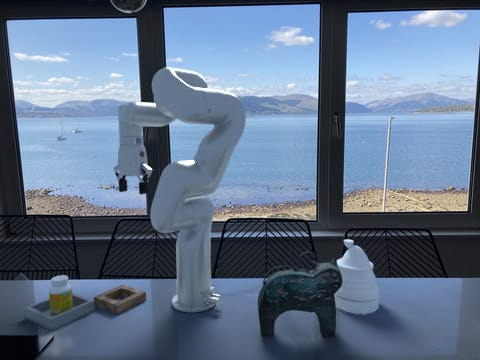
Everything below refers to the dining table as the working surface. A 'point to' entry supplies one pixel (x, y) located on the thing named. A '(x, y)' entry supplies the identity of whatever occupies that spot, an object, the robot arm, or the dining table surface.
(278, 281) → the green animal figurine
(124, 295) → the socket block
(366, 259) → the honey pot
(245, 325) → the dining table surface
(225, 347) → the dining table surface
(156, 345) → the dining table surface
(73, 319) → the tray
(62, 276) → the supplement bottle
